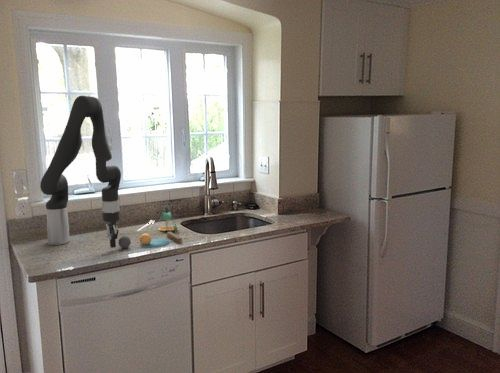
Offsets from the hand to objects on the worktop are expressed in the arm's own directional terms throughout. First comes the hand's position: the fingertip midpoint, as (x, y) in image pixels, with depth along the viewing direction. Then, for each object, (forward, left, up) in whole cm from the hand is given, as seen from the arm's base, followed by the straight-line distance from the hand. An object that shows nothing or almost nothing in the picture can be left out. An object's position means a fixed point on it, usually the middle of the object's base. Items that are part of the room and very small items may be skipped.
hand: (113, 247), depth 202 cm
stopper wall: (+29, +8, -2) cm, 30 cm away
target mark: (+19, +5, -2) cm, 20 cm away
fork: (+17, +39, -2) cm, 42 cm away
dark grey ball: (+5, +2, +1) cm, 6 cm away
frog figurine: (+28, +27, -2) cm, 39 cm away
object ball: (+15, +4, +1) cm, 15 cm away
